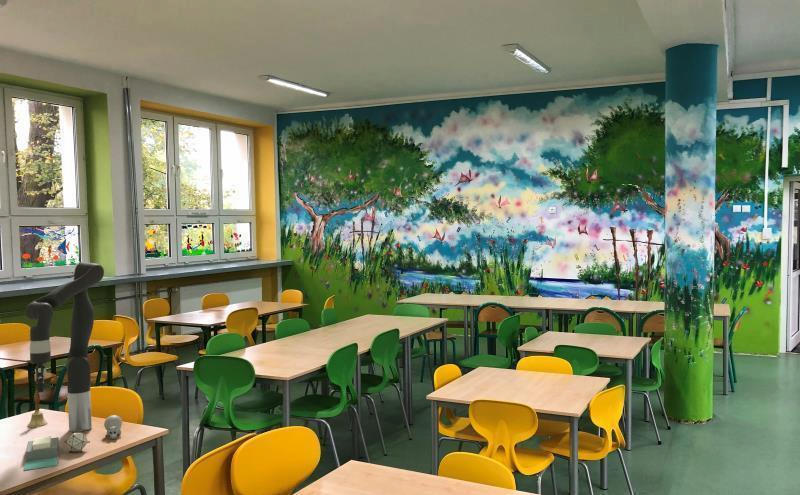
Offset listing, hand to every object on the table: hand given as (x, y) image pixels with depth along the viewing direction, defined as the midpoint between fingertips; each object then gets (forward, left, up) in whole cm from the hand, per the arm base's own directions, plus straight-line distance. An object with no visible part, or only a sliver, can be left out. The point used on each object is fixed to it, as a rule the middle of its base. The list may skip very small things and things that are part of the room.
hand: (41, 389), depth 271 cm
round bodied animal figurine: (-27, -2, -25) cm, 36 cm away
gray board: (0, +9, -24) cm, 26 cm away
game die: (-13, +12, -24) cm, 30 cm away
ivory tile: (0, +10, -20) cm, 23 cm away
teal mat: (0, +21, -24) cm, 32 cm away
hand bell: (+4, -37, -24) cm, 44 cm away
